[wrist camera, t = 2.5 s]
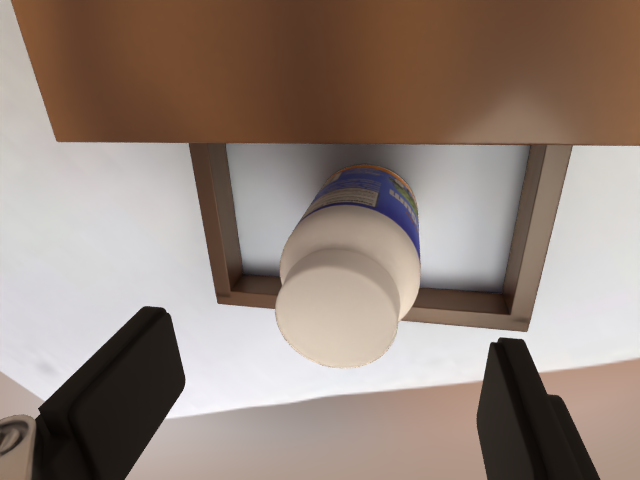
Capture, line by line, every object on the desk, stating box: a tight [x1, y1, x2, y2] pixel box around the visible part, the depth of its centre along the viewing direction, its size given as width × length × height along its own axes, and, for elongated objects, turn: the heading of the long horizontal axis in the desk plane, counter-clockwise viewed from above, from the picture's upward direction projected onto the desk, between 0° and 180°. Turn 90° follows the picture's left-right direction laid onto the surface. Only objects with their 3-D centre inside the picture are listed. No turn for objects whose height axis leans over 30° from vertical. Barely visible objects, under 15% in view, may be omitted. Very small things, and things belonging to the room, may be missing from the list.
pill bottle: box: [275, 164, 421, 368], centre depth 17 cm, size 5×5×10 cm
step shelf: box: [11, 0, 640, 332], centre depth 14 cm, size 17×21×11 cm
